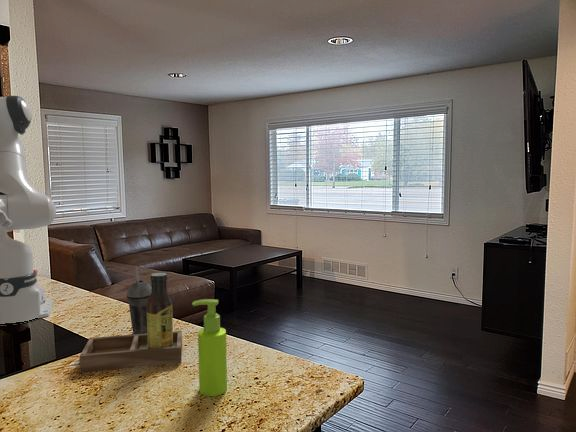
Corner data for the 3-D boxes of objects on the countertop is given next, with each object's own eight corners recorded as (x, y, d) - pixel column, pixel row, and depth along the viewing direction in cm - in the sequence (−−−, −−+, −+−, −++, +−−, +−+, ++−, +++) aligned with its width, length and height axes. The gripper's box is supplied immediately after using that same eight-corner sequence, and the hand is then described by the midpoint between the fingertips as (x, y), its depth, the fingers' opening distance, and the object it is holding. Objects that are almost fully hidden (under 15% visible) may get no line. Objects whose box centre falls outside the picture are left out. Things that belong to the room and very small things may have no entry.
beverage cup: (160, 330, 129) (157, 263, 127) (144, 340, 122) (141, 269, 120) (139, 327, 132) (136, 262, 129) (122, 336, 125) (119, 267, 122)
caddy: (90, 352, 114) (89, 337, 114) (182, 345, 119) (181, 330, 119) (80, 372, 104) (79, 356, 103) (181, 363, 109) (180, 347, 108)
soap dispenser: (196, 383, 99) (194, 296, 96) (227, 382, 99) (226, 295, 97) (192, 397, 93) (190, 305, 90) (226, 396, 93) (224, 304, 91)
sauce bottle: (165, 357, 109) (163, 278, 106) (142, 354, 110) (139, 277, 108) (177, 346, 115) (175, 271, 113) (156, 344, 116) (153, 270, 114)
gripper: (-64, 179, 92) (-8, 224, 95) (-19, 176, 112) (26, 214, 115) (-87, 201, 92) (-29, 246, 95) (-38, 194, 111) (8, 231, 115)
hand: (2, 228), depth 105 cm, fingers open, 8 cm apart
